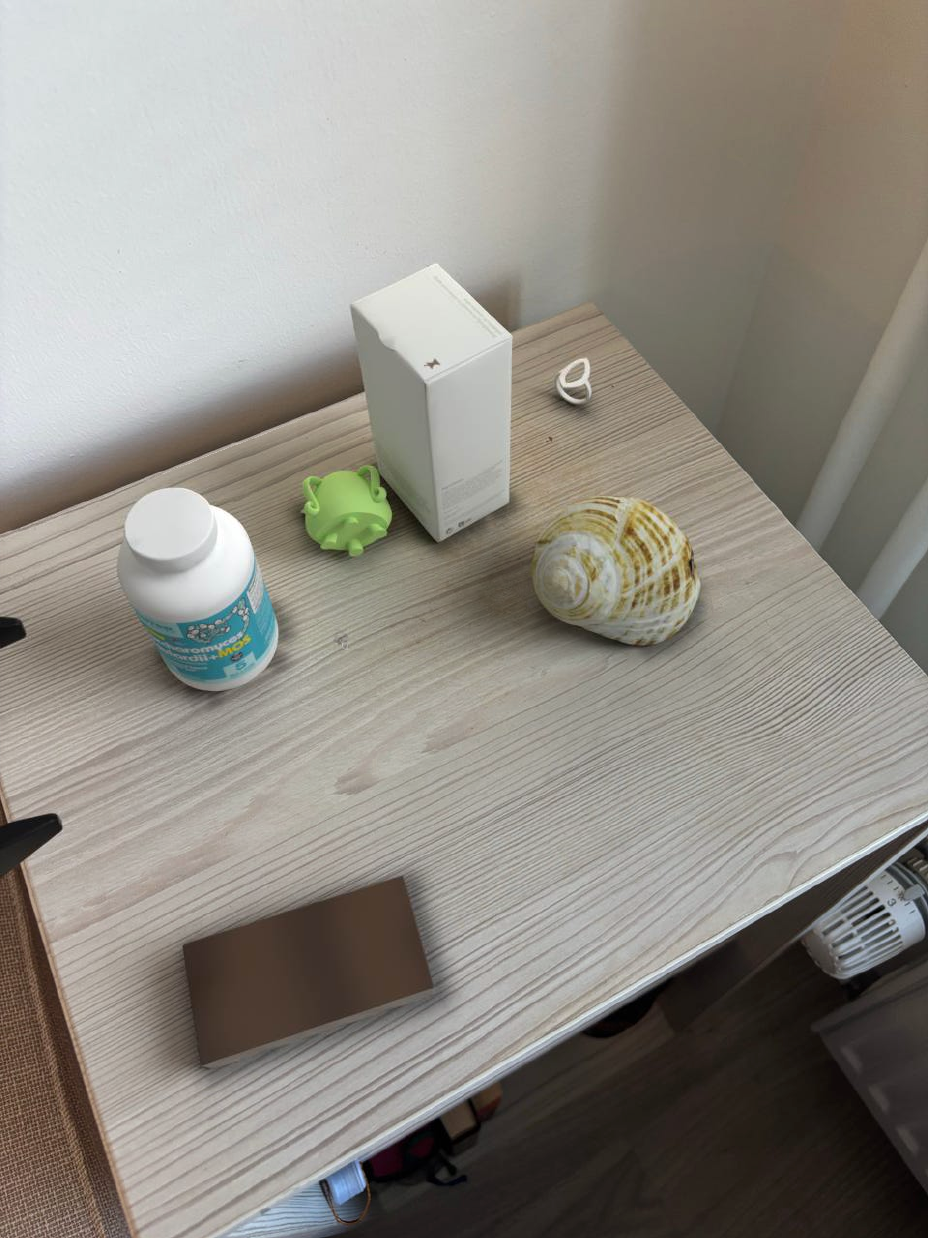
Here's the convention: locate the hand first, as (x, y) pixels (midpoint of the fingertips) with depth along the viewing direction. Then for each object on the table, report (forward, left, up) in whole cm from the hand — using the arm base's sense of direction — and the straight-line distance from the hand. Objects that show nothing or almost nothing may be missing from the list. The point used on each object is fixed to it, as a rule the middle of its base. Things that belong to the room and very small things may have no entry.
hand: (40, 718), depth 37 cm
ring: (+35, +25, -18) cm, 46 cm away
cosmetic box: (+23, +20, -18) cm, 35 cm away
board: (+7, -9, -18) cm, 21 cm away
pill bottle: (+6, +12, -18) cm, 23 cm away
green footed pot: (+16, +18, -18) cm, 30 cm away
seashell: (+31, +8, -18) cm, 37 cm away
